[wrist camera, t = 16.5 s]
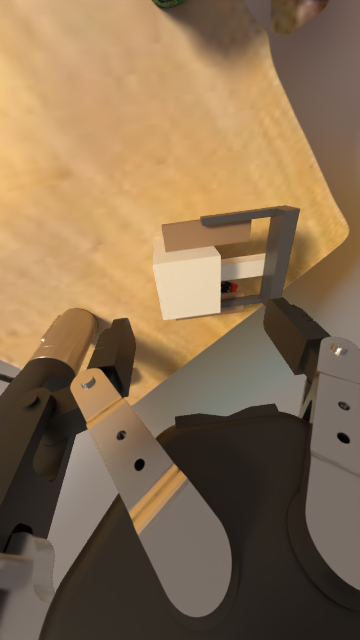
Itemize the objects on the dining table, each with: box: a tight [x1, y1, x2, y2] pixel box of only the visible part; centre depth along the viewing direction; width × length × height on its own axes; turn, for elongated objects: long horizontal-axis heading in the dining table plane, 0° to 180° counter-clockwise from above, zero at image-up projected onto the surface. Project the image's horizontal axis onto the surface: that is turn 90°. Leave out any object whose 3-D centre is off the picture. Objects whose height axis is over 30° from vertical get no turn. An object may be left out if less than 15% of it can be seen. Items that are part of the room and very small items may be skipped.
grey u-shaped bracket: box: [200, 205, 300, 308], centre depth 33 cm, size 13×16×4 cm
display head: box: [152, 219, 266, 321], centre depth 39 cm, size 22×18×17 cm
